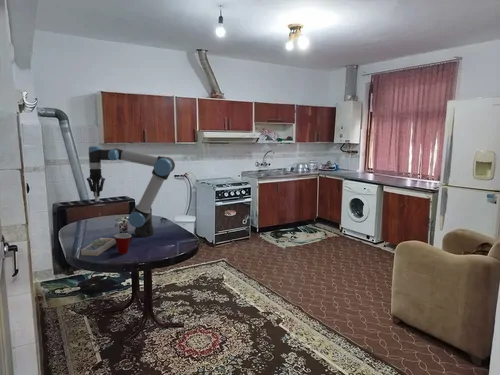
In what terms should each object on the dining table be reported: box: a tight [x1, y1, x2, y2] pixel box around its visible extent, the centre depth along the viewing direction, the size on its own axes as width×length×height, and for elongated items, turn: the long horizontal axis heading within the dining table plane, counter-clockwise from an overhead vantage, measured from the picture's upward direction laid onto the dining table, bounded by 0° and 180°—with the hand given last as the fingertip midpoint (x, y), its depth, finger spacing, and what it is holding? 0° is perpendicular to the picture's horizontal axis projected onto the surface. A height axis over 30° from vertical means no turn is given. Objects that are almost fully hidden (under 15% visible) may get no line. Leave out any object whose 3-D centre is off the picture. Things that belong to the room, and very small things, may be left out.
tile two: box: [91, 238, 106, 245], centre depth 231 cm, size 6×6×2 cm
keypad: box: [80, 237, 116, 257], centre depth 231 cm, size 11×25×3 cm, turn 175°
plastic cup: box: [113, 233, 132, 255], centre depth 224 cm, size 11×11×12 cm
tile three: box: [86, 246, 100, 250], centre depth 223 cm, size 6×6×2 cm
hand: (97, 201), depth 247 cm, fingers closed
